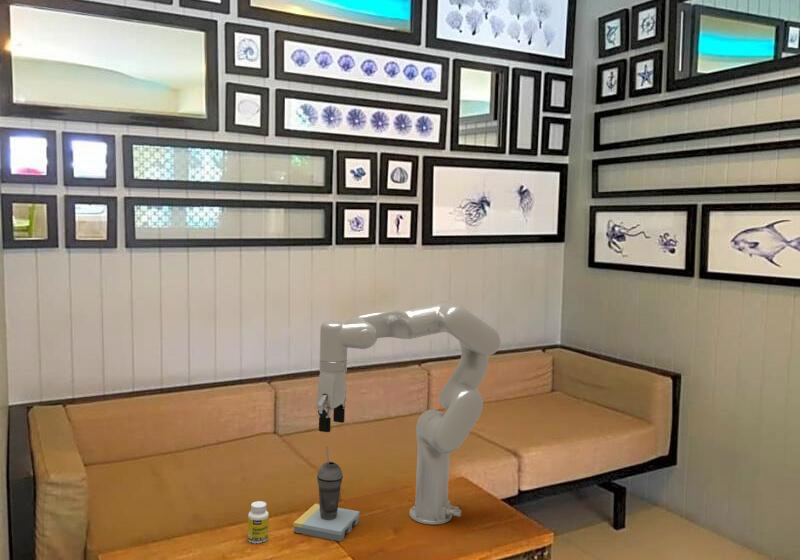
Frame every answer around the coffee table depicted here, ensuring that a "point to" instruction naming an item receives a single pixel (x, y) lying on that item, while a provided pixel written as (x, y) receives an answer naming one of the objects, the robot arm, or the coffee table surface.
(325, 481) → the beverage cup
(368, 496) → the coffee table surface
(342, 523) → the plate
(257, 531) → the supplement bottle
